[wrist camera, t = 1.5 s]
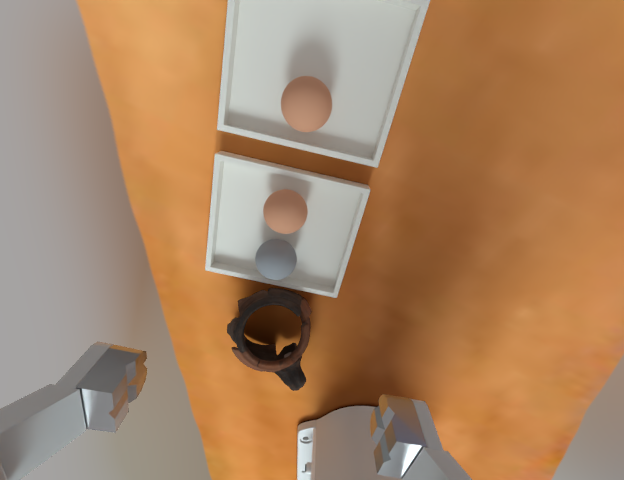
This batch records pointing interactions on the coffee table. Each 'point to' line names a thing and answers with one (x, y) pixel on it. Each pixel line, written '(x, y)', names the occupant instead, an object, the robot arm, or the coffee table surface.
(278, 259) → the ball grey
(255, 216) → the dish
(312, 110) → the terracotta ball
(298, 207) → the terracotta ball
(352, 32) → the dish
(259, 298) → the pottery mug
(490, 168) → the coffee table surface
